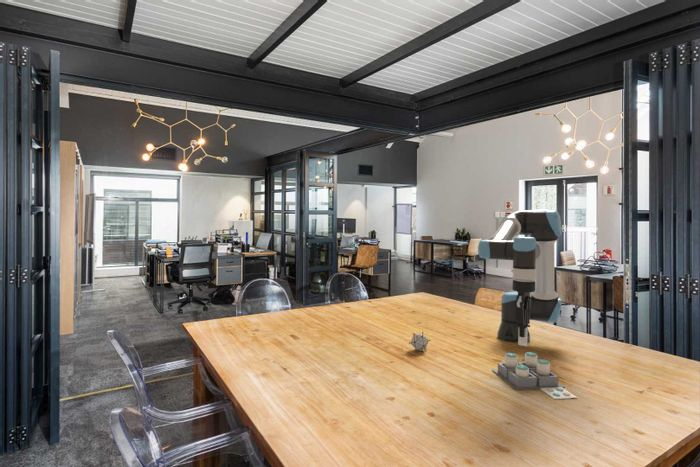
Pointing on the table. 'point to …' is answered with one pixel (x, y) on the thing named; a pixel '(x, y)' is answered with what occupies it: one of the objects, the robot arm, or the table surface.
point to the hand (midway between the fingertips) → (522, 345)
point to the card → (558, 393)
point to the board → (526, 378)
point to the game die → (419, 341)
